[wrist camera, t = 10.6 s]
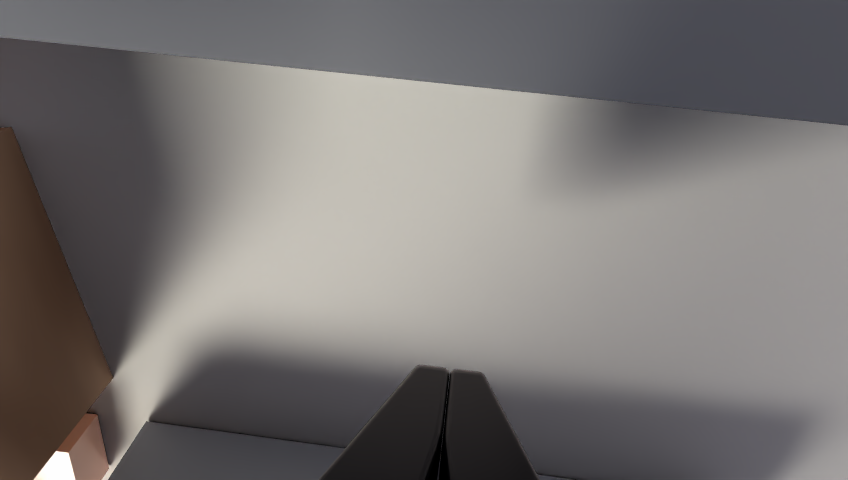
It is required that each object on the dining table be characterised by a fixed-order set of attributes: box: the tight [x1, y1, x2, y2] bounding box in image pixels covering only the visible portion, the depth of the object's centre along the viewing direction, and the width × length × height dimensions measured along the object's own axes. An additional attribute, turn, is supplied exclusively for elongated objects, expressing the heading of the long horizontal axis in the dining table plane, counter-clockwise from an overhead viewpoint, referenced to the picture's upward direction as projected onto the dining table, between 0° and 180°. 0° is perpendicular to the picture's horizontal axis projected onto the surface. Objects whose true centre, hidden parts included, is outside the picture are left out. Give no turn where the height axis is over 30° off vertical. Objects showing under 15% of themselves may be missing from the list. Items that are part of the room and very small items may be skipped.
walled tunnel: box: [0, 0, 848, 480], centre depth 10 cm, size 10×11×2 cm
